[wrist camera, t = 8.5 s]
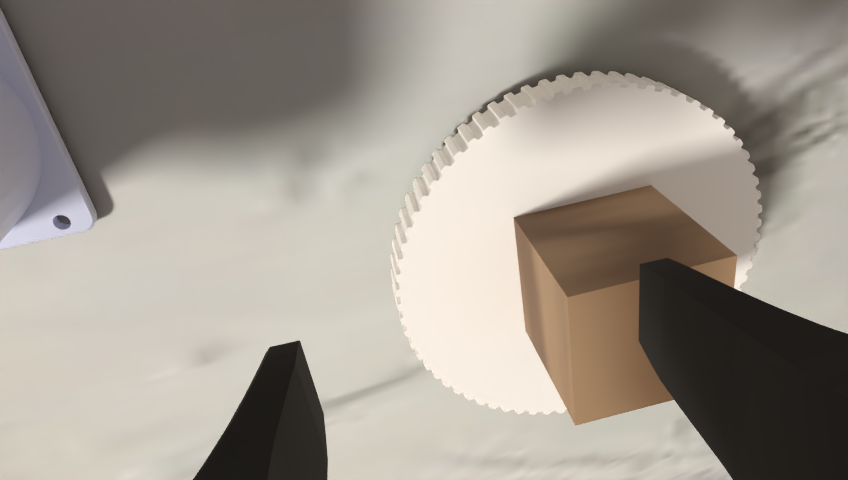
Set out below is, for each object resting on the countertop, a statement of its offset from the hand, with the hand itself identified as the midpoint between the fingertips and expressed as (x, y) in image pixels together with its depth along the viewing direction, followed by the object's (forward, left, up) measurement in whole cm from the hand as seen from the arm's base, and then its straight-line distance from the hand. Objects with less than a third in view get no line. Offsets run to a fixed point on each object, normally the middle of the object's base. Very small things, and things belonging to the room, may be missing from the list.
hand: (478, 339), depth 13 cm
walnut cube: (+6, -5, -8) cm, 11 cm away
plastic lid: (+6, -5, -11) cm, 14 cm away
